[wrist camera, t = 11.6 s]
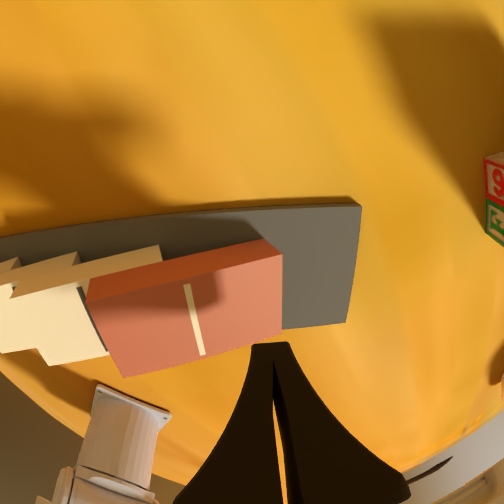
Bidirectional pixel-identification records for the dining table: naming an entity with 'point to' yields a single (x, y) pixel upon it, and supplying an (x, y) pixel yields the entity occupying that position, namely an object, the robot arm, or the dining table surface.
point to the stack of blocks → (495, 196)
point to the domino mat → (226, 234)
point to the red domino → (188, 306)
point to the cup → (502, 387)
